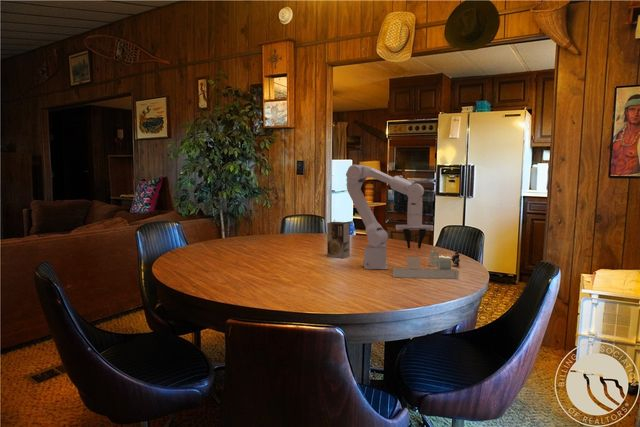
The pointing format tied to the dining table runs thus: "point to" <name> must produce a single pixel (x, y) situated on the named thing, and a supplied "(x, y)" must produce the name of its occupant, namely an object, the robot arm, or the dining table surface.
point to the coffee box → (338, 239)
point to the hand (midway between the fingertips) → (413, 248)
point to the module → (413, 261)
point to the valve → (435, 255)
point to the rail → (429, 271)
